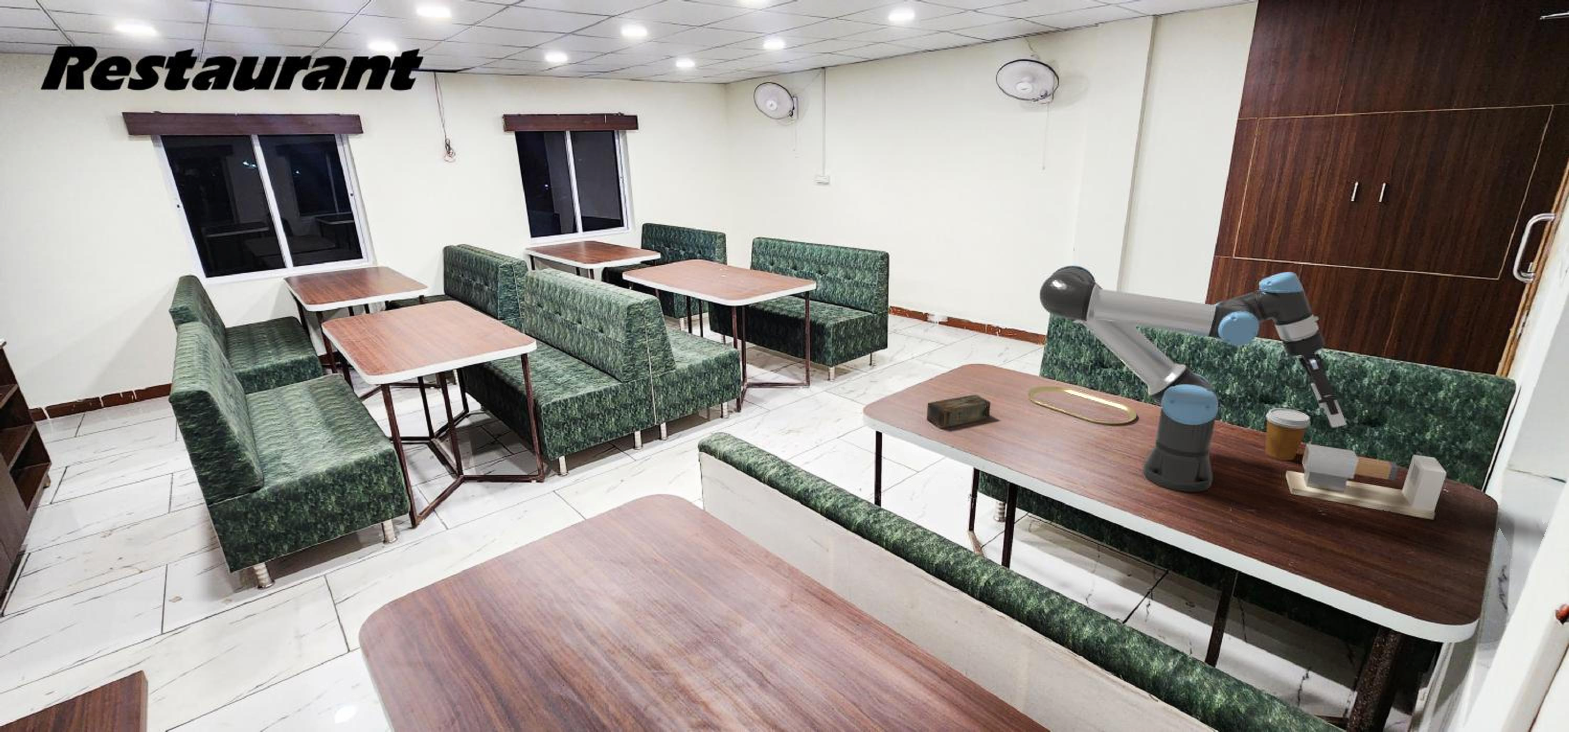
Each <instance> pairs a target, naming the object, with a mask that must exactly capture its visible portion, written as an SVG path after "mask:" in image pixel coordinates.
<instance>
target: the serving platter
mask: <svg viewBox="0 0 1569 732" xmlns="http://www.w3.org/2000/svg"><path fill="white" fill-rule="evenodd" d="M1041 392H1059V393H1063V394H1064V393H1065V394H1068V395H1072V396H1076V397H1079V398H1082V399H1086V400H1089V401H1092V402H1096V403H1099V404H1102V405H1105V406H1109V407H1112V408H1116V409H1119V410H1121V411H1124V412H1125V413H1127V414H1128V415H1129V419H1128V420H1126V421H1103V420H1096V419H1093V418H1088V417H1085V416H1083V415H1082V416H1081V415H1080V414H1076V413H1074V412H1070V411H1067V410H1064V409H1060V408H1058V407H1055V406H1052V405H1048V404H1045V403H1043V402H1039V401H1037V400H1034V399H1033V395H1035V394H1037V393H1041ZM1026 394H1027V395H1026V396H1027V397H1028V399H1029V400H1030V401H1031V402H1033V403H1035V404H1036V405H1038V406H1041V407H1045V408H1048V409H1050V410H1053V411H1056V412H1059V413H1063V414H1066V415H1069V416H1072V417H1075V418H1079V419H1080V420H1084V421H1088V422H1091V423H1094V424H1100V425H1109V426H1110V425H1115V426H1116V425H1117V426H1118V425H1124V424H1128V423H1131V422H1133V421H1134V420H1135V419H1136V417H1137V413H1136V411H1135V410H1134V409H1133V408H1132V407H1130V406H1127V405H1125V404H1123V403H1120V402H1115V401H1113V400H1109V399H1106V398H1102V397H1099V396H1096V395H1092V394H1088V393H1085V392H1082V391H1079V390H1075V389H1072V388H1068V387H1062V386H1052V385H1050V386H1049V385H1048V386H1037V387H1034V388H1031V389H1029V390H1028V391H1027V392H1026Z"/></svg>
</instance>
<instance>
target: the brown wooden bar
mask: <svg viewBox="0 0 1569 732" xmlns="http://www.w3.org/2000/svg"><path fill="white" fill-rule="evenodd" d="M1357 458H1358V463H1357V467H1356V470H1355V474H1354V475H1359V476H1364V477H1372V478H1375V479H1376V478H1378V479H1383V480H1390V481H1396V478H1397V475H1398V473H1399V472H1398V471H1399V467H1398V465H1397V463H1396V462H1395V461H1390V460H1382V459H1377V458H1376V459H1375V458H1371V457H1370V458H1369V457H1364V456H1362V457H1361V456H1357Z"/></svg>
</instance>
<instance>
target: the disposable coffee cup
mask: <svg viewBox="0 0 1569 732" xmlns="http://www.w3.org/2000/svg"><path fill="white" fill-rule="evenodd" d="M1265 418H1266V422H1267V423H1266V435H1265V436H1266V437H1265V451H1264V452H1265V454H1266V455H1267V456H1268V457H1270V458H1273V459H1275V460H1280V461H1292V460H1294V459H1295V457H1296V455H1297V452H1298V451H1299V448H1300V445H1301V443H1302V440H1303V437H1304V435H1305V434H1306V431H1307V429H1308V427H1310V425H1311V420H1310V416H1309V415H1307V414H1306V413H1304V412H1302V411H1298V410H1295V409H1290V408H1282V407H1280V408H1277V407H1276V408H1271V409H1269V410H1268V412H1267V413H1266V415H1265Z"/></svg>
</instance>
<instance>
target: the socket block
mask: <svg viewBox="0 0 1569 732" xmlns="http://www.w3.org/2000/svg"><path fill="white" fill-rule="evenodd" d="M1446 477H1447V472H1446V470H1445V469H1444V468H1443V466H1442V465H1441V464H1440V462H1439V461H1438V460H1437V458H1436V457H1431V456H1424V455H1417V454H1413V455H1412V458H1411V460H1410V464H1409V467H1408V471H1407V474H1406V477H1405V481H1404V484H1403V487H1402V489H1401V490H1402V493H1403V494H1404V496H1405V497H1406V499H1407V501H1408V502H1409V504H1410V506H1411V507H1412V508H1416V509H1422V510H1427V511H1433V512H1434V513H1435V509H1436V507H1437V503H1438V500H1439V498H1440V494H1441V491H1442V489H1443V486H1444V482H1445V479H1446Z"/></svg>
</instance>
